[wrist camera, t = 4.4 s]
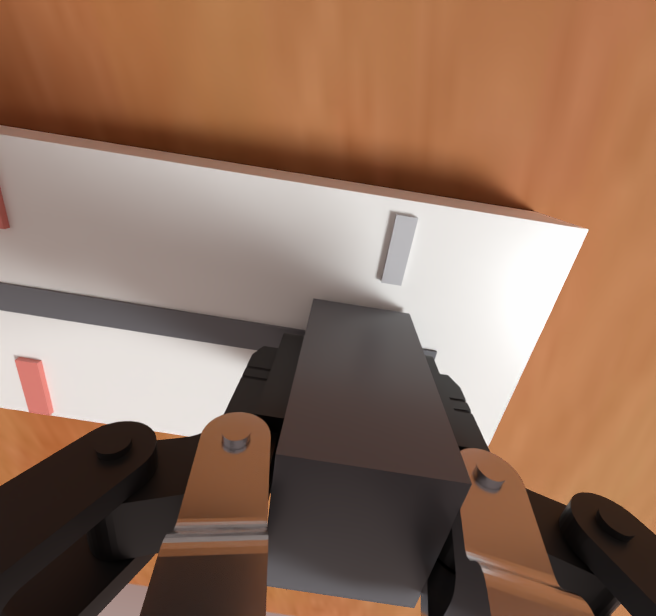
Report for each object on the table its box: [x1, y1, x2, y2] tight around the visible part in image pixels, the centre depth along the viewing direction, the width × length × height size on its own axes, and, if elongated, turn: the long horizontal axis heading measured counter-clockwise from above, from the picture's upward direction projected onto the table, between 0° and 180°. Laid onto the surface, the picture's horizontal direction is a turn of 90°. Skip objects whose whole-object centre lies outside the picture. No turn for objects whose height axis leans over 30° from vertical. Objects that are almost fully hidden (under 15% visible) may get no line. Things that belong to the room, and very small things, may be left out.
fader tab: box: [267, 298, 472, 608], centre depth 9 cm, size 3×4×6 cm
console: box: [0, 125, 589, 446], centre depth 13 cm, size 24×10×3 cm, turn 82°
